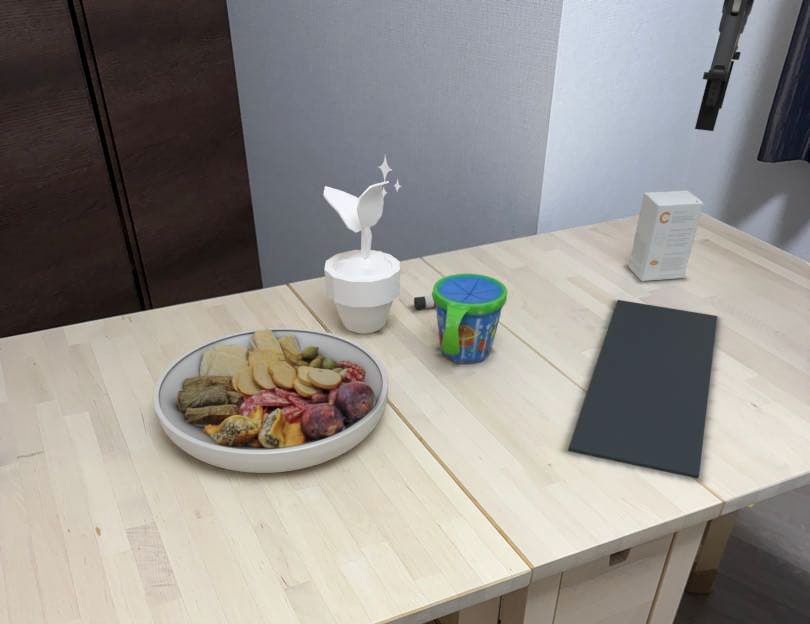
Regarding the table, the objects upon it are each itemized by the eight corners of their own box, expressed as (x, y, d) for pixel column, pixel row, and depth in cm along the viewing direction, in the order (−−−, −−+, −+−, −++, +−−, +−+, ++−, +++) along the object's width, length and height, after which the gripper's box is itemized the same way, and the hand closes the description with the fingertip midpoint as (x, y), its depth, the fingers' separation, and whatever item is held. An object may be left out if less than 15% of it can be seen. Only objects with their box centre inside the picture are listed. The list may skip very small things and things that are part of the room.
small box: (668, 264, 136) (688, 189, 127) (683, 279, 131) (705, 202, 122) (626, 266, 135) (643, 191, 126) (640, 282, 130) (658, 205, 121)
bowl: (113, 452, 93) (95, 398, 88) (237, 342, 114) (229, 293, 108) (328, 511, 86) (324, 457, 80) (420, 382, 106) (422, 332, 100)
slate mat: (716, 318, 121) (717, 315, 120) (698, 478, 91) (699, 475, 90) (617, 302, 125) (617, 299, 124) (568, 451, 95) (568, 447, 94)
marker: (416, 311, 121) (417, 300, 120) (413, 306, 123) (414, 295, 121) (505, 302, 124) (506, 291, 123) (501, 297, 125) (502, 286, 124)
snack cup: (456, 322, 119) (460, 260, 112) (517, 338, 115) (525, 275, 108) (410, 367, 109) (411, 301, 102) (475, 386, 105) (481, 319, 98)
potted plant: (416, 325, 118) (419, 155, 101) (362, 351, 112) (356, 175, 95) (362, 299, 124) (356, 135, 107) (308, 322, 118) (293, 152, 101)
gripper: (732, -65, 111) (693, 96, 126) (717, -47, 94) (673, 136, 109) (785, -62, 109) (739, 101, 124) (779, -44, 92) (727, 143, 107)
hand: (708, 118), depth 116 cm, fingers open, 13 cm apart
